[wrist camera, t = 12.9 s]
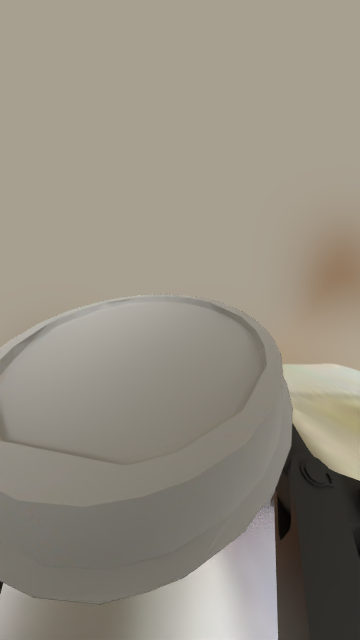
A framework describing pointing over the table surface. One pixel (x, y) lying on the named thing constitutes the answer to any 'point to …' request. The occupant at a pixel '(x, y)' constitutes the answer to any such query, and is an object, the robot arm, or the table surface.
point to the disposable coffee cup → (134, 443)
